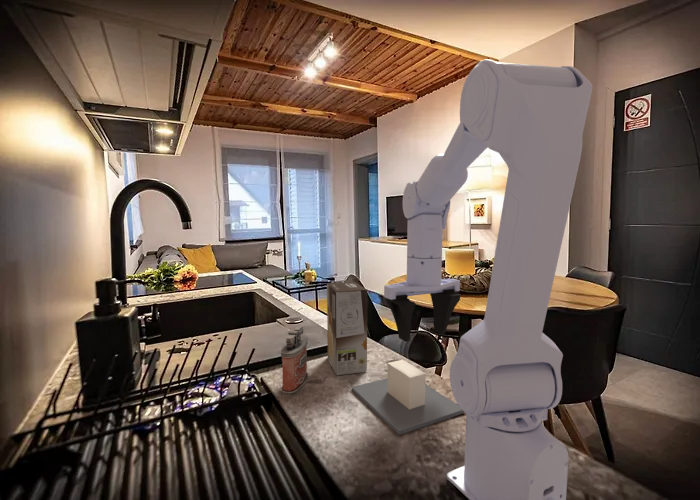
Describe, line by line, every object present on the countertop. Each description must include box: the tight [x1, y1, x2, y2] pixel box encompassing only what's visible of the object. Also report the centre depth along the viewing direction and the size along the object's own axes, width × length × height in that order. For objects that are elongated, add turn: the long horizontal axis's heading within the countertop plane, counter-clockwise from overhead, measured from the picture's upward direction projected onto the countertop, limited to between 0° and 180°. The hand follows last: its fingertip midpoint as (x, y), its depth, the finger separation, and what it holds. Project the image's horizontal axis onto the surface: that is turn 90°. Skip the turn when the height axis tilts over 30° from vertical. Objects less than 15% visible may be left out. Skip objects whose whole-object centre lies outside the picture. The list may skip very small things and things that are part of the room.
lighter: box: [280, 325, 309, 398], centre depth 62 cm, size 8×3×10 cm, turn 168°
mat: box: [351, 377, 465, 436], centre depth 57 cm, size 14×12×1 cm
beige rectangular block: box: [386, 359, 427, 409], centre depth 57 cm, size 3×6×5 cm, turn 28°
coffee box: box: [326, 281, 368, 376], centre depth 71 cm, size 9×6×16 cm
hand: (422, 336), depth 60 cm, fingers open, 7 cm apart
